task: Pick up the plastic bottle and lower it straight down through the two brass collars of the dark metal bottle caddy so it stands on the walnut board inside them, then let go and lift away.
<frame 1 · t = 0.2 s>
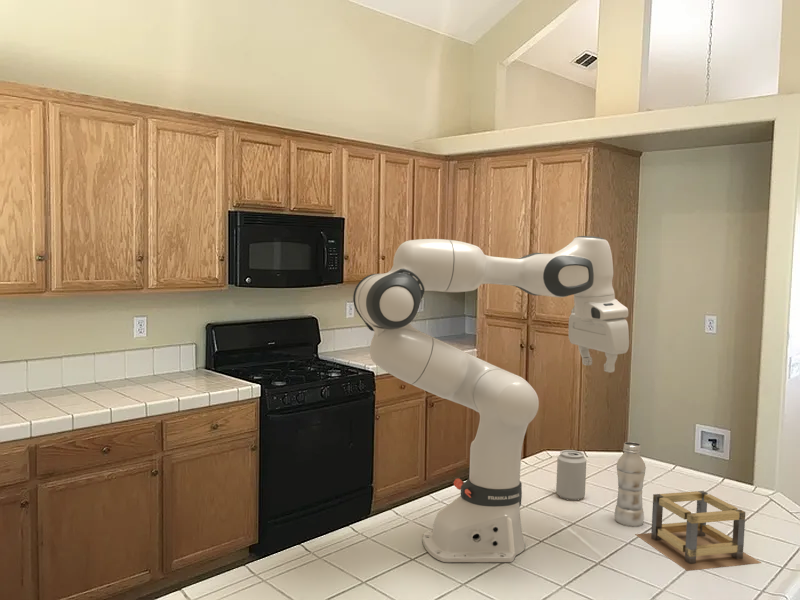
hand: (598, 368, 151), 39 cm above the countertop, tool pointing down, fingers open, 8 cm apart
walnut board: (695, 553, 145), on the countertop
plastic bottle: (628, 527, 159), on the countertop
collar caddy: (695, 547, 145), resting on walnut board
can: (570, 497, 179), on the countertop
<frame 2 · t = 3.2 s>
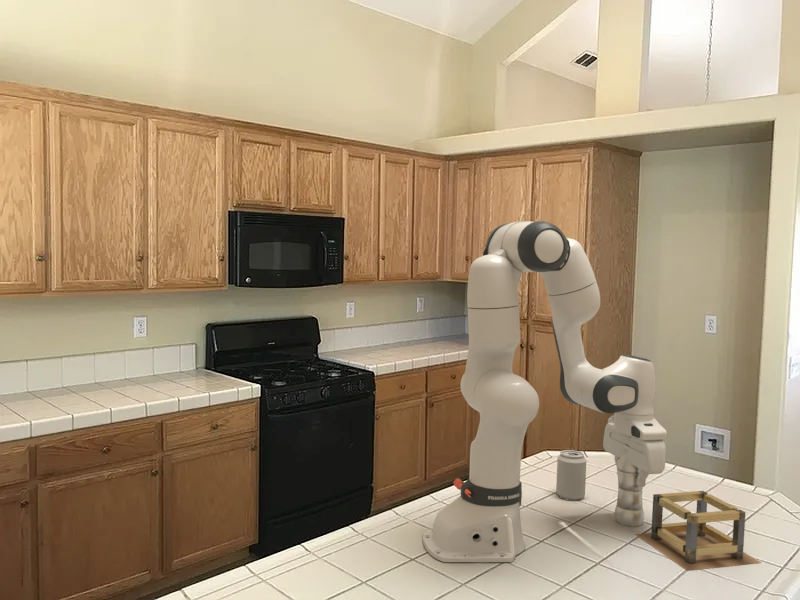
hand: (630, 480, 159), 11 cm above the countertop, tool pointing down, fingers closed on plastic bottle, 6 cm apart
plastic bottle: (628, 527, 159), on the countertop, touching gripper
everything else where it was.
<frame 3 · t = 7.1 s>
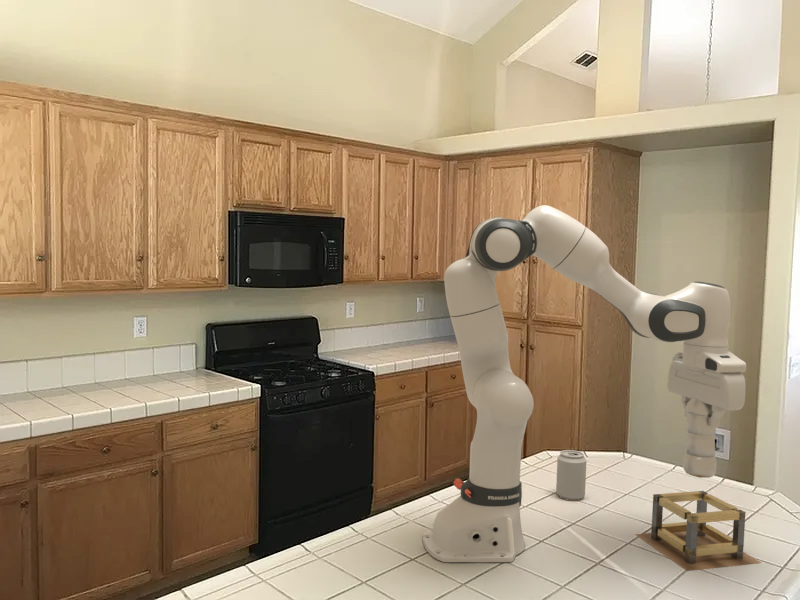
hand: (701, 421, 144), 29 cm above the countertop, tool pointing down, fingers closed on plastic bottle, 6 cm apart
plastic bottle: (698, 477, 144), point 17 cm above the countertop, touching gripper
everything else where it was.
when the fingers open (13 cm above the countertop, at t = 10.9 s): plastic bottle moves 2 cm, resting on walnut board.
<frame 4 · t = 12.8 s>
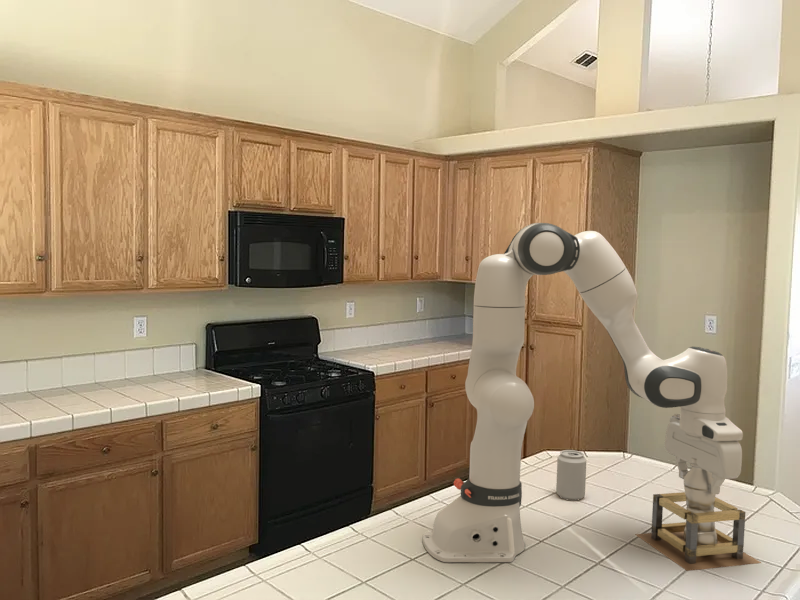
hand: (698, 485, 144), 15 cm above the countertop, tool pointing down, fingers open, 8 cm apart
plastic bottle: (700, 551, 143), point 1 cm above the countertop, touching gripper, walnut board
everything else where it was.
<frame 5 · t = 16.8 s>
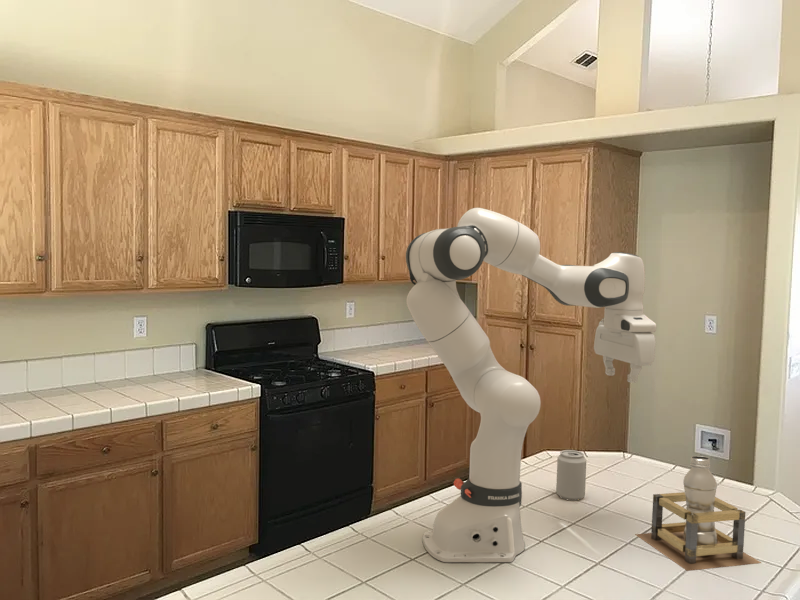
hand: (620, 378, 159), 35 cm above the countertop, tool pointing down, fingers open, 8 cm apart
plastic bottle: (700, 551, 143), point 1 cm above the countertop, touching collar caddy, walnut board
everything else where it was.
at the end: plastic bottle 1.9 cm off-centre on the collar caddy, point 0.0 cm above the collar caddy's base; plastic bottle tilted 4°; the gripper is holding nothing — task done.
